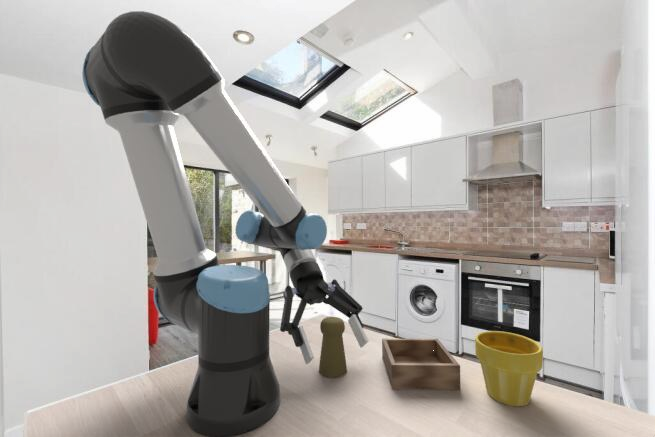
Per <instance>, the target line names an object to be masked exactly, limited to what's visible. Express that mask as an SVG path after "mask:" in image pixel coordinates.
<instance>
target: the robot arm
mask: <svg viewBox="0 0 655 437" xmlns="http://www.w3.org/2000/svg"><path fill="white" fill-rule="evenodd" d="M81 73H82V82H83V85H84V88H85V90H86V92H87V94H88V95H89V97H90V98H91V100H93V102H94V103H95V104H96V105H97V106H99V107H100V109H101V113H102V116H103V119H104V123H105V124H106V125H108V126H109V127H111V128H112V129H114V130H115V131H117V132H118V134H119V136H120V140H121V143H122V145H123V148H124V152H125V155H126V158H127V162H128V165H129V168H130V171H131V175H132V178H133V182H134V184H135V187H136V191H137V194H138V198H139V200H140V204H141V206H142V211H143V213H144V216H145V217H144V218H145V220H146V224H147V227H148V230H149V232H150V233H149V234H150V237H151V239H152V243H153V246H154V250H155V253H156V255H157V259H158V262H157V264H156V265H155V267H154V269H153V271H152V274H153V277H154V281H155V286H154V289H153V302H154V306H155V309H156V311H157V312H158V313H159V314H160V315H161V316H162V317H163V319H165V320H166V321H167V322H169V323H170V324H172V325H174V326H177V327H180V328H182V329H185V330H187V331H189V332H191V333H193V334H195V335H197V342H198V343H197V347H198V348H197V350H198V352H197V353H198V360H197V361H198V364H197V365H198V366H197V370H196V373H195V376H194V380H193V383H192V385H191V390H190V392H189V395H188V399H187V402H186V420H187V423H188V425H189V426H190V428H191V429H192V430H193V431H195V432H197V433H198V434H201V435H205V436H211V437H229V436H236V435H239V434H243V433H246V432H249V431H252V430H254V429H256V428H258V427H260V426H262V425H263V424H264V423H266V422H267V421H268V420H270V419H271V418H272V417H273V416H274V415H275V414H276V412H277V410H278V409H279V407H280V404H281V388H280V384H279V381H278V378H277V375H276V372H275V371H276V370H275V369H274V366H273V363H272V360H271V357H270V310H271V309H270V298H271V293H270V289H269V287H270V286H269V279H268V276H267V275H266V273H265V272H263V271H262V270H260V269H258V268H256V267H252V266H248V265H238V264H223V265H222V264H219V259H218V256H217V254H216V252H214V251H213V250H210V249H209V248H207V246H206V244H205V240H204V235H203V232H202V228H201V225H200V221H199V217H198V214H197V210H196V206H195V203H194V202H195V201H194V199H193V196H192V192H191V191H192V190H191V188H190V184H189V180H188V176H187V173H186V170H185V166H184V161H183V158H182V155H181V151H180V148H179V147H180V146H179V143H178V141H177V140H178V139H177V137H176V133H175V129H174V125H175V124H176V122H177V121H178V119H179V118H180V115H181V116H184V118H186V119H187V121H188V122H189V124H190V125H191V126H192V128H194V130H195V131H196V133H198V135H199V136H200V137H201V138H202V140H203V142H205V144H206V145H207V146H208V147H209V148H210V150H211V151H212V153H213V154H214V155H215V156H216V158H218V160H219V161H220V162H221V163H222V165H223V166H224V167H225V169H226V170H227V171H228V172H229V174H230V175H231V176H232V178H233V180H235V181H236V183H237V184H238V185H239V187H241V189H242V190H243V192H244V193H245V194H246V195H247V196H248V197H249V199H250V200H251V202H253V204H254V205H255V206H256V208H257V209H258V210H259V211H260V212H259V211H254V210H245V211H243V212H242V213H241V214H240V215H239V217H238V218H237V221H236V225H235V228H234V229H235V235H236V238H237V239H238V240H239V241H241V242H244V243H246V244H248V245H253V246H258V247H262V248H266V249H270V250H272V251H277V252H279V253H280V256H281V257H282V259H283V262H284V265H285V267H286V270H287V272H288V274H289V278H290V281H291V284H292V285H293V287H292V286H290V285H287V286H286V287H285V289H284V291H283V293H282V294H283V299H284V302H283V308H282V314H281V315H282V316H281V321H280V328H279V330H280V332H282V333H284V332H287V333H288V335H290V336H291V337H292V339H293V343H294V345H295V347H296V348H300V350H301V354H302V357H303V359H304V363H305V365H308V364H310V363H311V362H312V361H313V359H314V358H315V355H314V353H313V350H312V348H311V345H310V342H309V340H308V336H307V334H306V332H305V329H304V325H302V326H299V324H300V322H301V321H302V320H301V319H302V317H303V314H304V311H305V309H306V307H307V304H308V305H310V306H312V305H314V304H315V305H316V304H322V303H323V304H324V305H329V306H330V307H332V308H334V309H335V310H336V311H338V312H339V313H341V314H342V315H344V316H345V317H347V318H348V320H347V322H348V324H349V327H350V328H351V330H352V333H353V335H354V337H355V340H356V342H357V344H358V346H359V347H360V348H364V347H365V346H366V345H367V343H369V339H368V337H367V336H368V335H367V334H366V332H365V331H364V323H363V321H362V320H361V318H360V316H359V314H360V313H361V312H362V310H363V309H364V308H363V305H361V304H360V303H359V302H358V301H356V299H354V298H353V297H352V296H351V295H350V294H349V293H348V292H347V291H346V290H345V289H344V288H343V287H342V286H341V285H340V284H339V282H338V280H336V279H333V280H332V281H331V282H326V281H325V279H324V276H323V275H324V274H323V272H322V270H321V268H320V265H319V264H318V263H317V259H316V256H315V255H314V253H313V250H318V249H319V248H320V247H321V246H322V245H323V244H324V242H325V240H326V238H327V233H328V229H327V228H328V227H327V223H326V221H325V218H323V216H322V215H319V214H318V213H313V212H307V210H306V208H304V206H303V205H302V203H301V202H300V201H299V199H298V197H297V195H296V194H295V192H293V190H292V188H291V187H290V185H289V184H288V183H287V181H286V180H285V178H284V176H283V175H282V174H281V172H280V170H279V169H278V168H277V166H276V165H275V164H274V162H273V160H272V159H271V158H270V156H269V155H268V153H267V151H266V150H265V148H264V147H263V146H262V144H261V143H260V141H259V140H258V138H257V137H256V135H255V134H254V132H253V131H252V129H251V128H250V126H249V125H248V124H247V122H246V120H245V119H244V117H243V116H242V114H241V113H240V111H239V110H238V109H237V107H236V106H235V105H234V103H233V101H232V100H231V98H230V97H229V95H228V94H227V92H226V91H225V79H224V77H223V75H222V74H221V72H220V71H219V68H217V66H216V65H215V63H214V62H213V61H212V60H211V58H210V57H209V55H208V54H207V53H206V52H205V50H203V48H202V47H201V46H200V45H199V43H197V42H196V41H195V40H194V39H193V38H192V37H191V36H190V35H189V34H188V33H187V32H186V31H184V30H183V29H182V28H181V27H179V25H177V24H175V23H174V22H172V21H170V20H169V19H167V18H165V17H163V16H160V15H158V14H156V13H152V12H147V11H141V10H140V11H139V10H138V11H137V10H136V11H129V12H128V11H127V12H125V13H122V14H119V15H118V16H116V17H115V18H113V20H111V21H110V22H109V24H108V25H107V27H106V29H105V31H104V32H103V34H101V36H100V37H99V39H98V40H97V41H96V43H94V45H93V46H92V47H91V48H89V51H88V52H87V53H86V55H85V58H84V62H83V65H82V72H81ZM295 296H296V297H298V298H299V299H300V301H299V304H298V307H297V310H296V312H295V315H294V317H293V319H292V321H291V315H292V307H293V298H294V297H295ZM327 296H328V297H327ZM290 321H291V322H290Z"/></svg>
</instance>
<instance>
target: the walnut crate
mask: <svg viewBox="0 0 655 437" xmlns="http://www.w3.org/2000/svg"><path fill="white" fill-rule="evenodd" d="M381 342H382V343H381V345H382V346H381V347H382V348H381V350H382V352H381V353H382V354H381V355H382V357H381V358H382V361H383V364H384V368H385V371H386V374H387V377H388V382H389V383H390V387H391V389H392V390H426V391H427V390H431V391H432V390H434V391H435V390H449V391H453V390H454V391H461V365H460V363H458V361H457V360H456V359H455V357H454V356H453V355H452V353H451V352H450V351H449V350H448V349H447V348H446V347H445V346H444V344H443V343H442V342H441V341H440V340H439V338H381ZM433 350H434V351H433Z"/></svg>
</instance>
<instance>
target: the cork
mask: <svg viewBox="0 0 655 437" xmlns="http://www.w3.org/2000/svg"><path fill="white" fill-rule="evenodd" d="M345 328H346V326H345V321H344V320H343V318H341V317H338V316H329V317H325V318H323V319H321V321H320V326H319V329H320V332H321V334H322V338H321V339H322V341H321V348H320V358H319V365H318V373H319V375H321V376H322V377H324V378H330V379H337V378H341V377H344V376H345V375H346V374H347V373H348V367H347V360H346V352H345V346H344V345H345V344H344V338H343V334H344V332H345V330H346V329H345Z"/></svg>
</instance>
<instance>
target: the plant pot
mask: <svg viewBox="0 0 655 437" xmlns="http://www.w3.org/2000/svg"><path fill="white" fill-rule="evenodd" d="M474 349H475V357H476V358H477V359H478V360H479V362H480V367H481V371H482V375H483V380H484V385H485V389H486V392H487V394H488V395H489V397H491V398H492V399H493V400H494V401H497V402H498V403H500V404H503V405H507V406H511V407H525V406H526V405H528V404H529V403H530V402H531V401H530V400H531V397H532V393H533V389H534V385H535V382H536V379H537V375H538V373H539V372H540V371H542V368H543V364H544V362H543V361H544V354H543V353H544V351H543V350H544V349H543V347H542V345H541V344H540V343H538V341H536V340H534V339H532V338H529V337H527V336H524V335H521V334H518V333H512V332H508V331H499V330H487V331H482V332H480V333H477V334H476V335H475V337H474Z"/></svg>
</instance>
